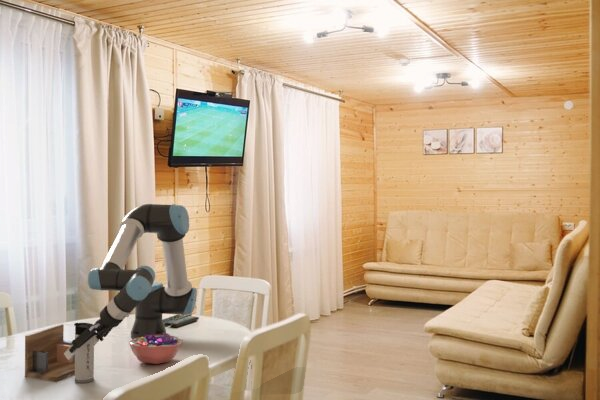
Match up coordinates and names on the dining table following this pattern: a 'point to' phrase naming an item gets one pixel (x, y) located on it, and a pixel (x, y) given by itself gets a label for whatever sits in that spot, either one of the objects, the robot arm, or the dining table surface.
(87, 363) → the travel mug
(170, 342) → the candy bowl
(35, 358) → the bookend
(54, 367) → the shelf
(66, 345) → the books
